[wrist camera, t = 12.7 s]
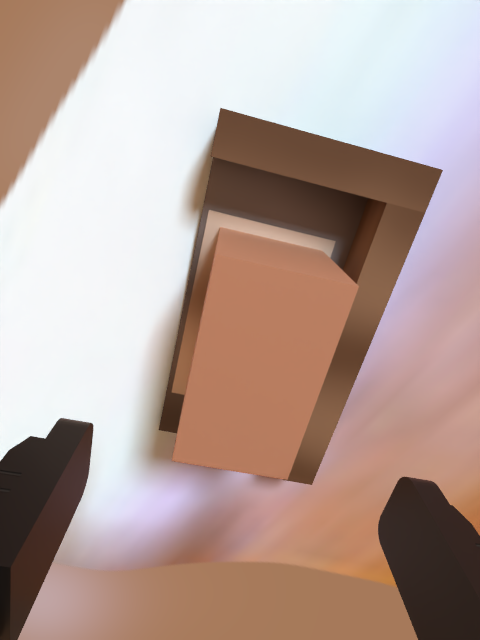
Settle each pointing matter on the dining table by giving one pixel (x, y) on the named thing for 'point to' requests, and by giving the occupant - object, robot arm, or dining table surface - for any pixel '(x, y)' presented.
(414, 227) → the tray
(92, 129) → the dining table surface
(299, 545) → the dining table surface
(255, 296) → the block
